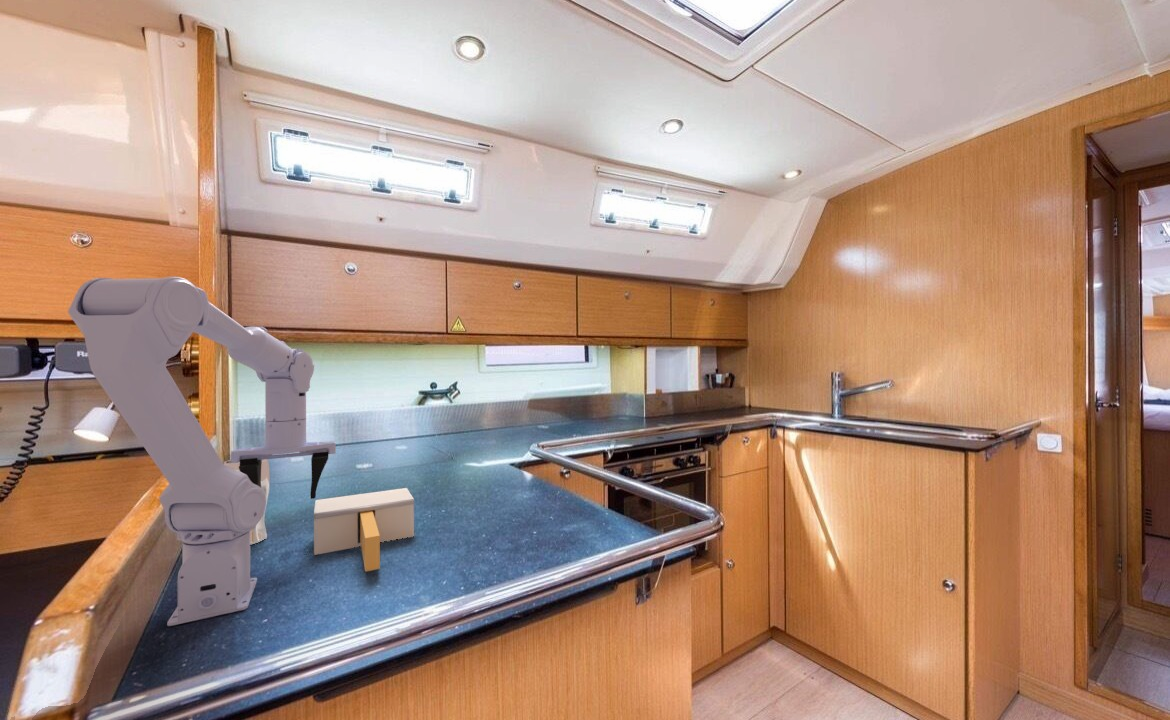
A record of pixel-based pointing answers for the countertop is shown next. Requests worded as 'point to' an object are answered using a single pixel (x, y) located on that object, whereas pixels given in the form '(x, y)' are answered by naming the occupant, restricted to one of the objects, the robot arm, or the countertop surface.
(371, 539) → the tab
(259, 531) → the beer glass
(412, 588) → the countertop surface
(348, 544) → the dispenser
